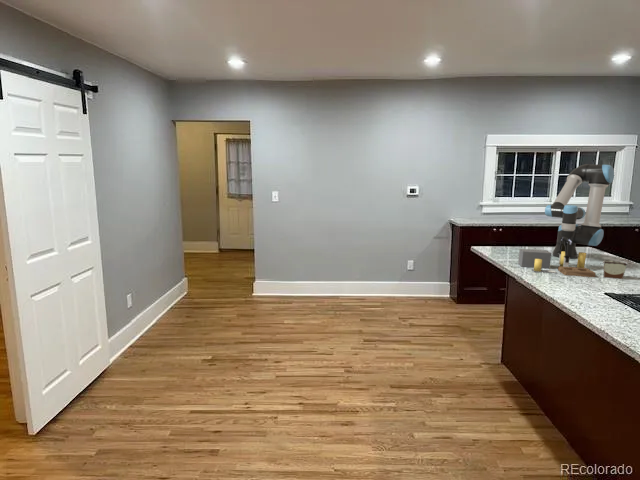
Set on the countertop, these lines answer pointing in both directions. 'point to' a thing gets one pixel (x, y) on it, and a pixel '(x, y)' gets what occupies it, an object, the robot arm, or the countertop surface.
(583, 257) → the peg
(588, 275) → the socket board
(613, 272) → the food container
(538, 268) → the grey and yellow fixture
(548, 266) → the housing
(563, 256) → the peg
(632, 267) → the countertop surface
